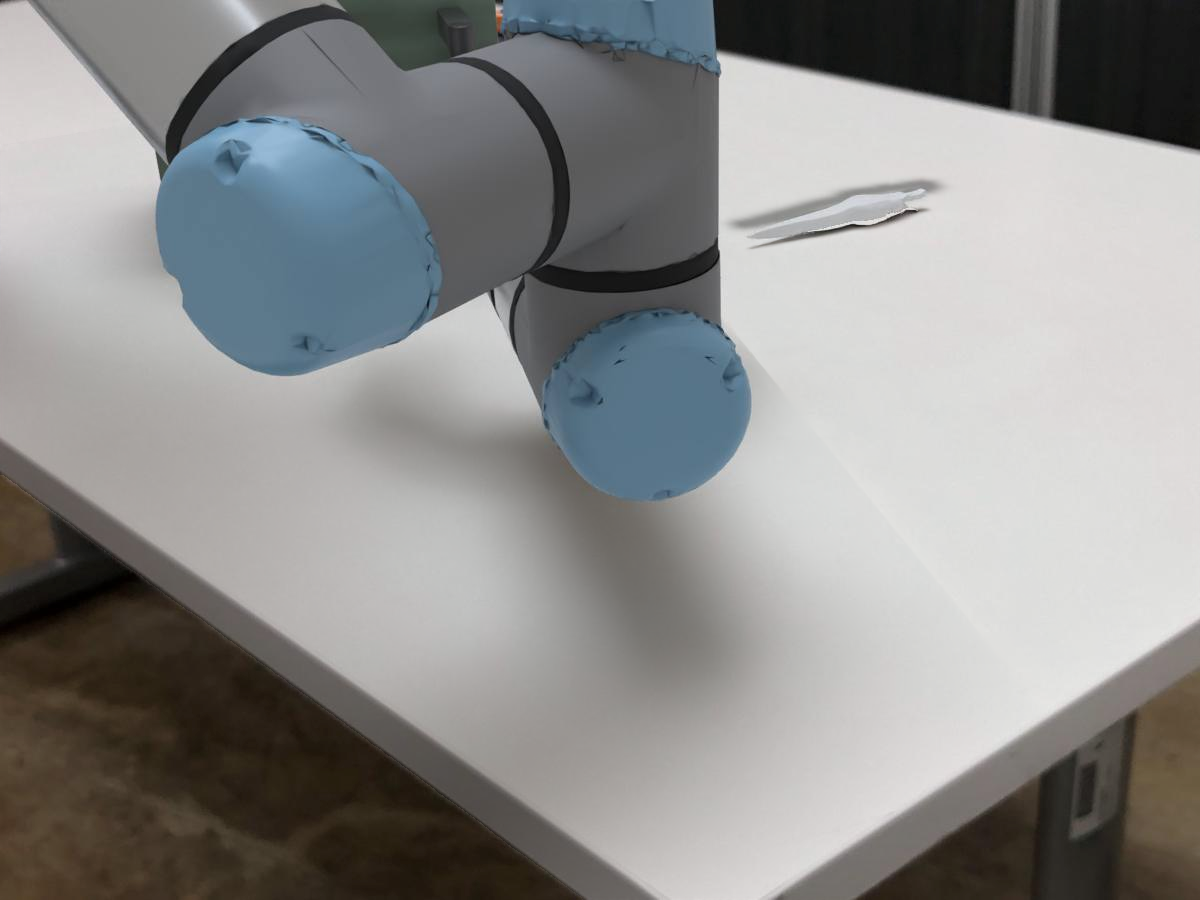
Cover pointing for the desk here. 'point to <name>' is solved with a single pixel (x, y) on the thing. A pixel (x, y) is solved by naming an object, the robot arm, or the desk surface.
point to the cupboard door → (420, 31)
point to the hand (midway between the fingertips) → (495, 153)
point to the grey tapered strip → (842, 214)
